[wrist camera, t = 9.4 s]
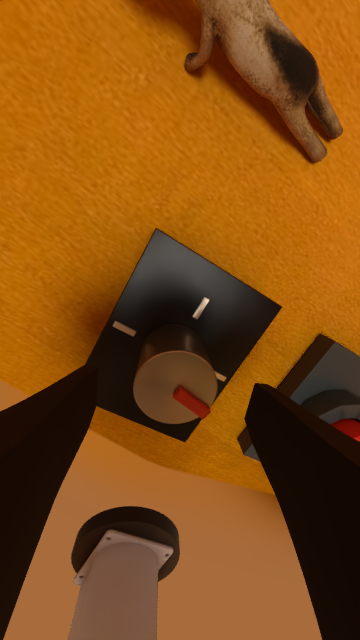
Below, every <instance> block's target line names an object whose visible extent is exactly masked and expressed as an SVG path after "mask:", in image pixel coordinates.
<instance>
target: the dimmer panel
mask: <svg viewBox="0 0 360 640" xmlns="http://www.w3.org/2000/svg"><path fill="white" fill-rule="evenodd" d="M281 308H282V306H280V305H279V304H277V303H275V302H274V301H272V300H271V299H269V298H267V297H266V296H264V295H263V294H261V293H259V292H258V291H256V290H255V289H253V288H251V287H250V286H248V285H247V284H245V283H244V282H242V281H240V280H239V279H237V278H236V277H234V276H232V275H231V274H229V273H228V272H226V271H224V270H223V269H221V268H220V267H218V266H216V265H215V264H213V263H212V262H210V261H208V260H207V259H205V258H204V257H202V256H200V255H199V254H197V253H196V252H194V251H192V250H191V249H189V248H188V247H186V246H184V245H183V244H181V243H180V242H178V241H176V240H175V239H173V238H172V237H170V236H168V235H167V234H165V233H164V232H162V231H160V230H159V229H157V228H156V229H155V231H154V233H153V235H152V237H151V238H150V240H149V242H148V244H147V246H146V248H145V250H144V252H143V254H142V256H141V258H140V260H139V262H138V264H137V265H136V267H135V269H134V271H133V273H132V275H131V277H130V279H129V281H128V283H127V285H126V287H125V289H124V291H123V292H122V294H121V296H120V298H119V300H118V302H117V304H116V306H115V308H114V310H113V312H112V314H111V316H110V318H109V320H108V321H107V323H106V325H105V327H104V329H103V331H102V333H101V335H100V337H99V339H98V341H97V343H96V345H95V347H94V348H93V350H92V352H91V354H90V356H89V358H88V360H87V362H86V364H85V366H94V367H98V383H97V401H96V406H98V407H100V408H102V409H105V410H107V411H110V412H112V413H115V414H117V415H119V416H122V417H124V418H127V419H129V420H132V421H134V422H136V423H139V424H141V425H144V426H146V427H149V428H151V429H153V430H156V431H158V432H161V433H163V434H166V435H168V436H171V437H173V438H175V439H178V440H180V441H183V442H186V440H187V439H188V438H189V436H190V435H191V433H192V432H193V431H194V429H195V428H196V426H197V425H198V424H199V422H200V421H201V420H202V418H200V417H198V418H196V419H194V420H192V421H189V422H185V423H180V424H168V423H162V422H159V421H156V420H154V419H152V418H150V417H149V416H147V415H146V414H145V413H144V412H143V411H142V410H141V409H140V407H139V406H138V404H137V402H136V400H135V397H134V393H133V384H134V379H135V375H136V371H137V366H138V362H139V358H140V354H141V349H142V345H143V343H144V340H145V339H146V337H147V336H148V334H149V333H151V332H152V331H153V330H154V329H156V328H158V327H160V326H162V325H166V324H181V325H185V326H187V327H189V328H191V329H192V330H194V331H195V332H196V333H197V334H198V336H199V337H200V339H201V341H202V343H203V345H204V348H205V350H206V352H207V355H208V357H209V360H210V362H211V364H212V367H213V369H214V371H215V374H216V377H217V382H218V389H217V394H216V397H215V400H216V399H217V397H218V396H219V394H220V393H221V392H222V390H223V389H224V387H225V386H226V385H227V383H228V382H229V381H230V379H231V378H232V376H233V375H234V374H235V372H236V371H237V369H238V368H239V367H240V365H241V364H242V362H243V361H244V360H245V358H246V357H247V355H248V354H249V353H250V351H251V350H252V348H253V347H254V346H255V344H256V343H257V342H258V340H259V339H260V337H261V336H262V335H263V333H264V332H265V330H266V329H267V328H268V326H269V325H270V323H271V322H272V321H273V319H274V318H275V316H276V315H277V314H278V312H279V311H280V309H281ZM215 400H214V401H215ZM213 403H214V402H213ZM213 403H212V404H213ZM211 406H212V405H211ZM211 406H210V407H211Z"/></svg>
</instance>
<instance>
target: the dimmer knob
mask: <svg viewBox="0 0 360 640" xmlns="http://www.w3.org/2000/svg"><path fill="white" fill-rule="evenodd" d="M217 389H218V382H217V377H216V374H215V371H214V369H213V367H212V364H211V362H210V360H209V357H208V355H207V352H206V350H205V348H204V345H203V343H202V341H201V339H200V337H199V336H198V334H197V333H196V332H195V331H194V330H192V329H191V328H189V327H187V326H185V325H181V324H166V325H162V326H160V327H158V328H156V329H154V330H153V331H152V332H151V333H149V334H148V336H147V337H146V339H145V340H144V343H143V345H142V349H141V354H140V358H139V362H138V366H137V371H136V375H135V379H134V384H133V393H134V397H135V400H136V402H137V404H138V406H139V407H140V409H141V410H142V411H143V412H144V413H145V414H146V415H147V416H149V417H150V418H152V419H154V420H156V421H159V422H162V423H168V424H180V423H185V422H189V421H192V420H194V419H196V418H198V417H200V418H202V419H204V418H205V417H206V416H207V415H208V414H209V413H210V412H211V411H210V406H211V405H212V403H213V402H214V400H215V397H216V394H217Z"/></svg>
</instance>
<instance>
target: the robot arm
mask: <svg viewBox="0 0 360 640" xmlns="http://www.w3.org/2000/svg"><path fill="white" fill-rule="evenodd" d="M97 383H98V367H94V366H85V365H84V366H82V367H80V368H79V369H77V370H75V371H74V372H72V373H70V374H69V375H67V376H65V377H64V378H62V379H60V380H59V381H57V382H55V383H54V384H52V385H50V386H49V387H47V388H45V389H43V390H42V391H40V392H38V393H36V394H34V395H32V396H30V397H29V398H27V399H25V400H23V401H21V402H19V403H17V404H15V405H13V406H11V407H9V408H7V409H5V410H2V411H0V640H3V638H4V636H5V632H6V630H7V627H8V624H9V621H10V619H11V616H12V613H13V610H14V608H15V604H16V602H17V599H18V596H19V594H20V591H21V588H22V585H23V582H24V580H25V577H26V574H27V571H28V569H29V566H30V563H31V561H32V558H33V555H34V552H35V550H36V547H37V545H38V542H39V539H40V537H41V534H42V531H43V529H44V526H45V523H46V521H47V518H48V515H49V513H50V511H51V508H52V505H53V503H54V500H55V498H56V496H57V493H58V491H59V489H60V486H61V484H62V482H63V480H64V478H65V476H66V474H67V472H68V469H69V468H70V466H71V464H72V462H73V460H74V458H75V455H76V453H77V451H78V449H79V447H80V445H81V443H82V441H83V439H84V437H85V435H86V433H87V431H88V429H89V426H90V423H91V420H92V417H93V414H94V411H95V408H96V401H97ZM245 422H246V426H247V429H248V432H249V436H250V439H251V441H252V444H253V446H254V448H255V451H256V453H257V455H258V457H259V460H260V462H261V464H262V466H263V468H264V471H265V473H266V475H267V477H268V479H269V482H270V484H271V486H272V488H273V490H274V493H275V495H276V497H277V500H278V502H279V505H280V507H281V510H282V513H283V516H284V518H285V521H286V524H287V527H288V530H289V533H290V535H291V538H292V541H293V544H294V547H295V550H296V553H297V557H298V560H299V562H300V566H301V569H302V572H303V575H304V578H305V582H306V585H307V588H308V591H309V595H310V598H311V602H312V605H313V608H314V612H315V615H316V618H317V622H318V626H319V629H320V633H321V636H322V640H360V442H359V441H357V440H356V439H354V438H352V437H350V436H348V435H347V434H345V433H343V432H342V431H340V430H338V429H337V428H335V427H333V426H332V425H330V424H328V423H327V422H325V421H324V420H322V419H320V418H319V417H317V416H316V415H314V414H313V413H311V412H310V411H308V410H307V409H305V408H304V407H302V406H301V405H299V404H298V403H296V402H295V401H293V400H292V399H290V398H289V397H287V396H286V395H284V394H283V393H281V392H280V391H278V390H276V389H275V388H273V387H271V386H270V385H268V384H260V383H255V385H254V388H253V391H252V395H251V398H250V402H249V405H248V409H247V412H246V416H245ZM172 553H173V547H172V546H171V545H167V544H164V543H160V542H157V541H154V540H150V539H147V538H143V537H140V536H137V535H133V534H130V533H126V532H123V531H120V530H116V529H112V528H111V529H108V530H107V531H106V533H105V534H104V535H103V537H102V538H101V540H100V541H99V543H98V544H97V546H96V547H95V548H94V550H93V551H92V553H91V554H90V556H89V557H88V559H87V560H86V561H85V563H84V564H83V566H82V567H81V569H80V570H79V571H78V573H77V574H76V576H75V578H74V584H77V585H81V588H80V592H79V596H78V600H77V604H76V608H75V612H74V616H73V620H72V624H71V628H70V632H69V636H68V640H157V598H158V597H157V596H158V570H159V569H160V568H161V566H162V565H163V564H164V563H165V562H166V560H167V559H168V558H169V557H170V556H171V554H172Z"/></svg>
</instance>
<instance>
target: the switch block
mask: <svg viewBox="0 0 360 640" xmlns="http://www.w3.org/2000/svg"><path fill="white" fill-rule="evenodd" d="M276 390H278V391H280V392H281V393H283V394H284V395H286V396H287V397H289V398H290V399H292V400H293V401H295V402H296V403H298V404H299V405H301V406H302V407H304V408H305V409H307V410H308V411H310V412H311V413H313V414H314V415H316V416H317V417H319V418H320V419H322V420H324V421H325V422H327V423H328V424H332V423H334V422H336V421H338V420H340V419H348V418H351V419H354V420H356V421H358V422H359V423H360V357H359V356H358V355H356V354H355V353H353V352H351V351H350V350H348V349H347V348H345V347H343V346H342V345H340V344H339V343H337V342H335V341H333V340H332V339H330V338H328V337H326V336H324V335H322V334H320V335H319V336H318V337H317V339H316V340H315V341H314V342H313V344H312V345H311V346H310V347H309V349H308V350H307V351H306V353H305V354H304V355H303V356H302V358H301V359H300V360H299V361H298V363H297V364H296V365H295V366H294V368H293V369H292V370H291V372H290V373H289V374H288V375H287V377H286V378H285V379H284V380H283V382H282V383H281V384H280V386H279V387H278V388H277V389H276ZM238 442H239V444H240V447H241V449H242V452H243V454H244V455H246V456H248V457H250V458H253V459H255V460H257V461H260V460H259V457H258V455H257V453H256V451H255V448H254V446H253V444H252V441H251V439H250V436H249V432H248V429H247V427H246V429H245V430H244V431H243V432H242V434H241V435H240V436H239V438H238Z"/></svg>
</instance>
